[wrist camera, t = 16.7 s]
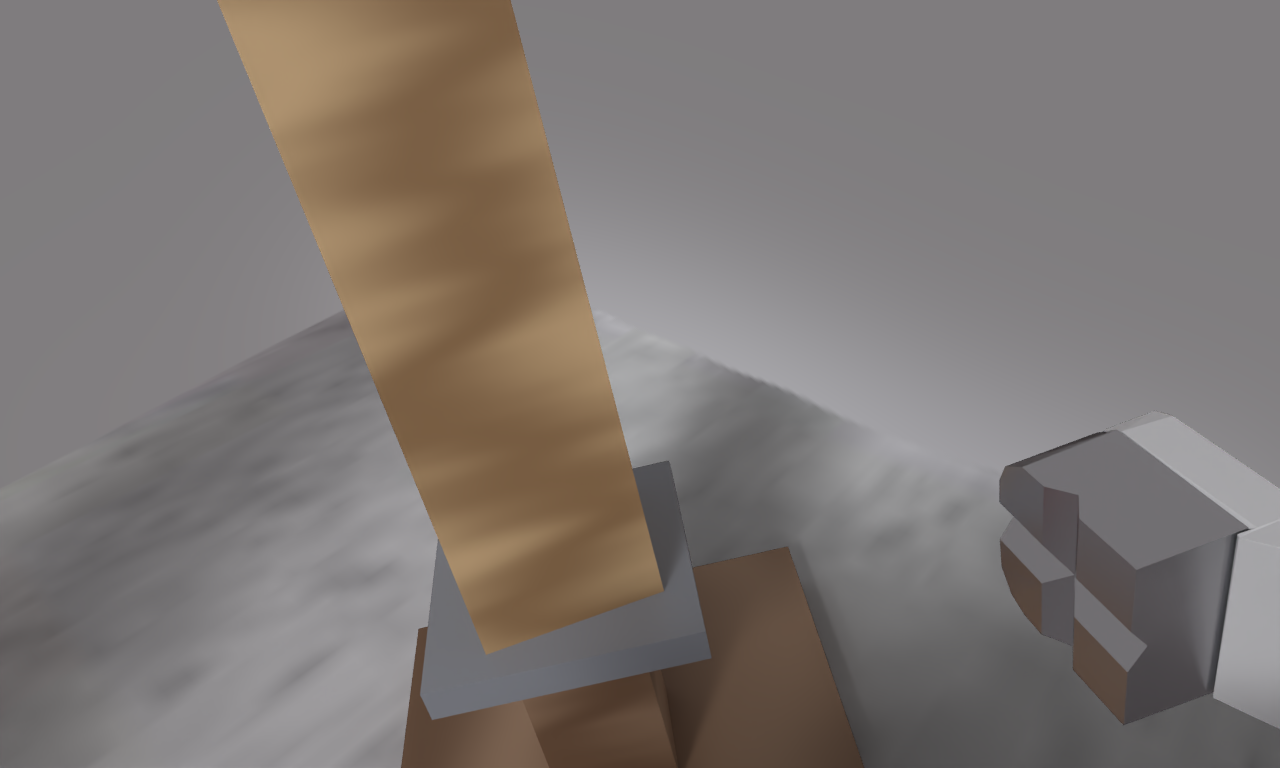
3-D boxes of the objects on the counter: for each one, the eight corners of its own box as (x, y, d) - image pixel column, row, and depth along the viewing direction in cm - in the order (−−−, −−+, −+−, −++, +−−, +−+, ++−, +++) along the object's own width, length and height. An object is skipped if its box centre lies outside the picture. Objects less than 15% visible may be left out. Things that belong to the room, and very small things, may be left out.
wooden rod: (486, 654, 21) (199, -46, 14) (463, 540, 24) (223, -69, 17) (664, 591, 21) (480, -117, 14) (618, 488, 25) (450, -127, 17)
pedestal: (390, 1067, 22) (243, 860, 18) (433, 660, 32) (346, 468, 28) (919, 954, 22) (896, 718, 18) (793, 580, 32) (759, 375, 28)
